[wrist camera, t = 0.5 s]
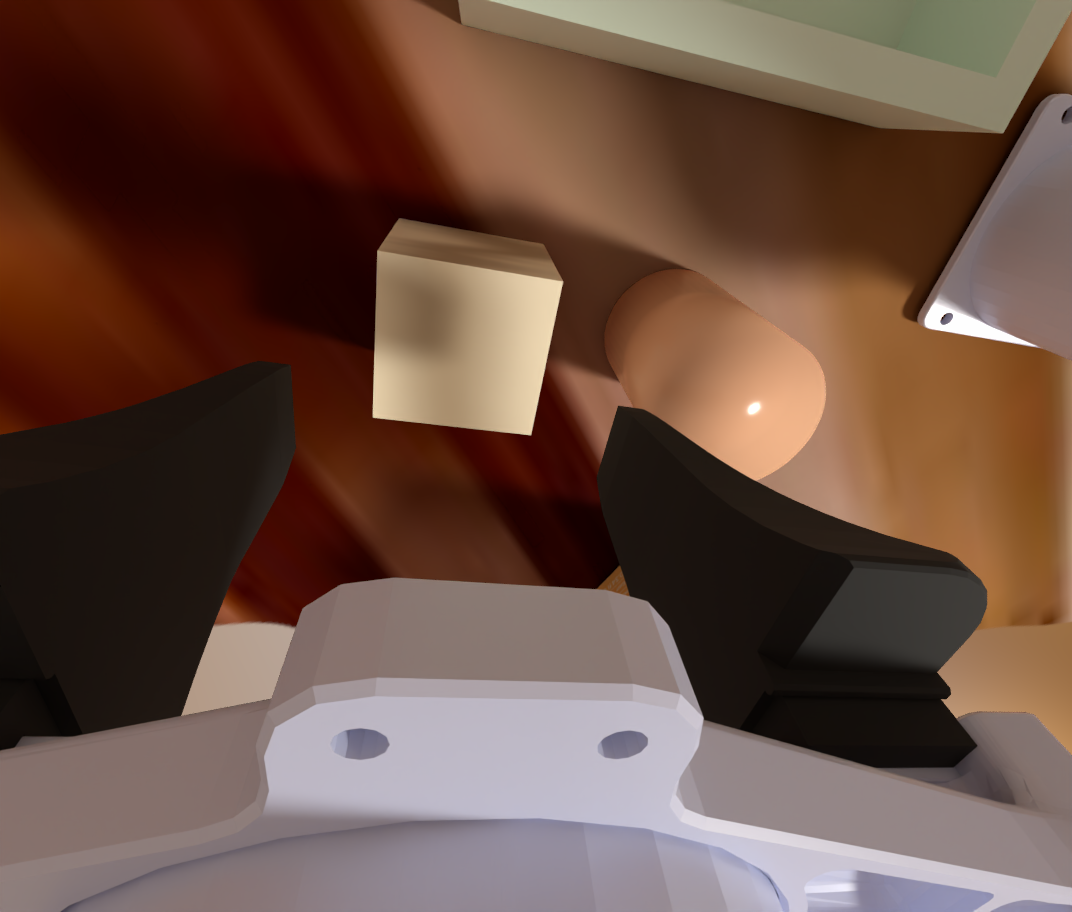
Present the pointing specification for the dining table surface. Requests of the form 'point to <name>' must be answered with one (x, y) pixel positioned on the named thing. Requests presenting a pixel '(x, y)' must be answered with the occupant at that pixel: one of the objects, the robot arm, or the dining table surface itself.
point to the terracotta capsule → (715, 370)
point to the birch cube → (462, 327)
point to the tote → (814, 50)
